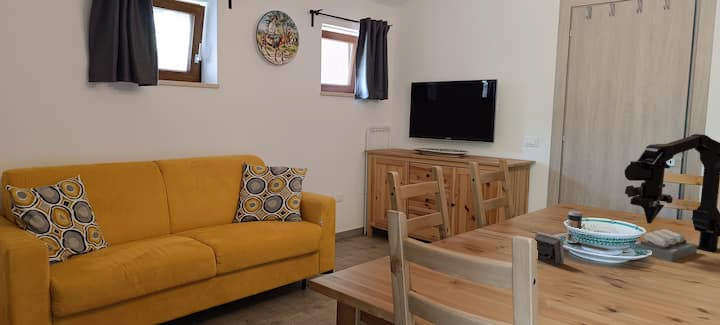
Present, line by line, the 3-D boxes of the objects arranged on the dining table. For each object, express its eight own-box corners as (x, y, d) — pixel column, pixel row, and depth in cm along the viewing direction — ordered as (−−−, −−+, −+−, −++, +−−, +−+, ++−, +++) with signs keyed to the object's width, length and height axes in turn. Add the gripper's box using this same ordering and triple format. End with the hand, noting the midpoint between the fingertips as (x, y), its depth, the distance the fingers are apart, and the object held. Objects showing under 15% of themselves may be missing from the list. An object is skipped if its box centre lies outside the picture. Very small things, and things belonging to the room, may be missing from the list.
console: (660, 244, 184) (661, 233, 184) (696, 253, 175) (697, 241, 174) (634, 252, 173) (635, 240, 173) (671, 261, 163) (672, 249, 163)
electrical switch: (564, 264, 157) (565, 236, 155) (556, 268, 154) (556, 240, 152) (538, 256, 164) (539, 230, 162) (530, 260, 161) (530, 233, 159)
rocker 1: (648, 236, 175) (650, 231, 174) (668, 246, 169) (670, 241, 169) (643, 237, 172) (645, 233, 172) (663, 247, 167) (665, 242, 166)
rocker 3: (663, 233, 182) (665, 228, 181) (683, 241, 176) (685, 236, 176) (658, 234, 179) (660, 229, 179) (678, 242, 174) (680, 237, 173)
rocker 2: (656, 234, 178) (658, 229, 177) (675, 243, 173) (678, 239, 172) (651, 235, 176) (653, 231, 175) (670, 245, 171) (673, 240, 170)
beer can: (580, 245, 179) (583, 213, 178) (567, 244, 180) (570, 212, 179) (577, 241, 184) (580, 211, 183) (564, 240, 185) (567, 210, 184)
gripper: (643, 175, 183) (638, 216, 184) (617, 178, 172) (613, 221, 174) (675, 180, 173) (670, 222, 175) (650, 183, 163) (645, 228, 165)
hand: (649, 223), depth 173 cm, fingers closed
